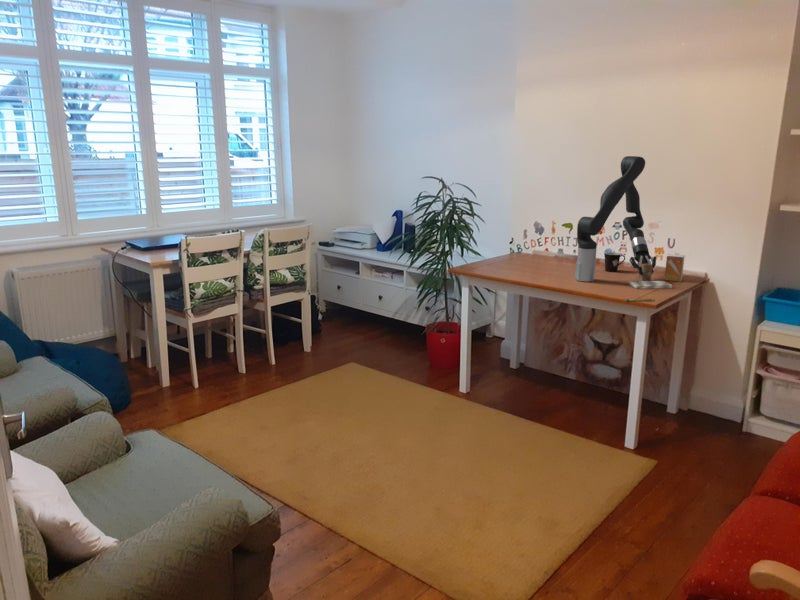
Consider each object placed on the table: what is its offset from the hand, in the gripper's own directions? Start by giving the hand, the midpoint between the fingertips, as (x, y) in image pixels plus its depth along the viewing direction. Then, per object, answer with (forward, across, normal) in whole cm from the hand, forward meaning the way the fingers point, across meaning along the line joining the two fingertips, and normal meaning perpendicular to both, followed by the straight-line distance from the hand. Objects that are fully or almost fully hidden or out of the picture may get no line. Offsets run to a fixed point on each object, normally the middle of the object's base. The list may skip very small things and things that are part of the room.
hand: (646, 274), depth 322 cm
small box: (0, +16, +6) cm, 17 cm away
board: (+10, -2, -4) cm, 11 cm away
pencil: (+31, -18, -25) cm, 44 cm away
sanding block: (+2, 0, +4) cm, 5 cm away
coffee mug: (-17, -7, +23) cm, 29 cm away
